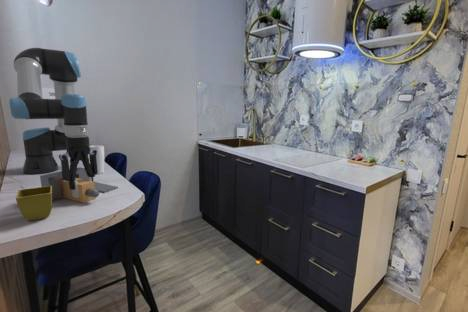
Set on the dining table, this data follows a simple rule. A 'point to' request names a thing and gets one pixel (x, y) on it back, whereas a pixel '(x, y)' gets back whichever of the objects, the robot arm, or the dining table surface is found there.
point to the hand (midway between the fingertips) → (82, 194)
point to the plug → (79, 190)
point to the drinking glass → (99, 157)
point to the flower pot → (35, 202)
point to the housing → (54, 181)
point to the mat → (103, 187)
